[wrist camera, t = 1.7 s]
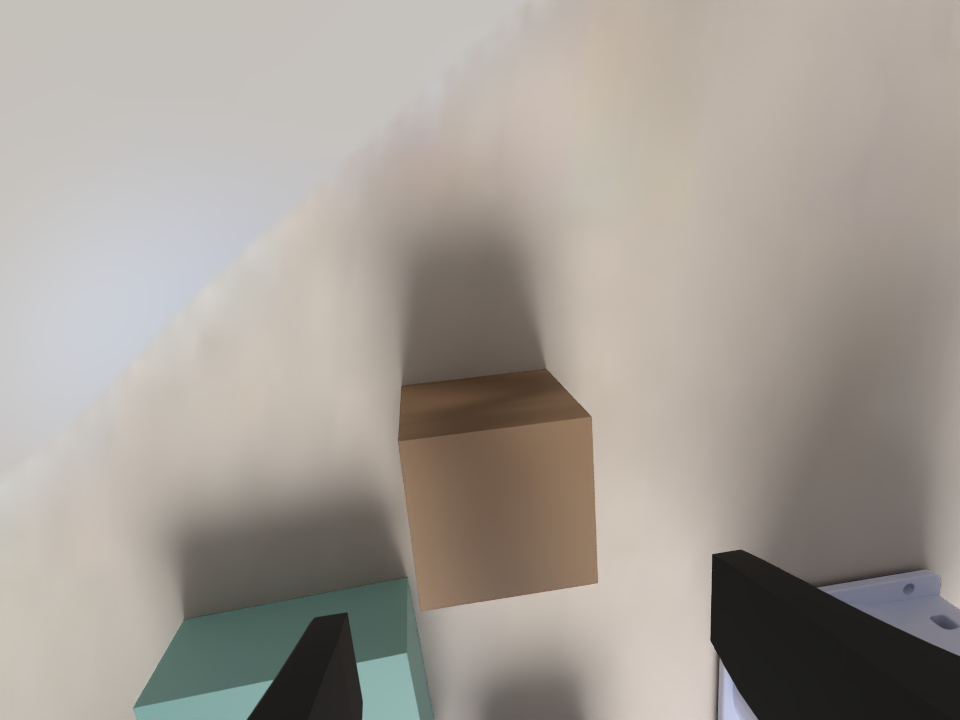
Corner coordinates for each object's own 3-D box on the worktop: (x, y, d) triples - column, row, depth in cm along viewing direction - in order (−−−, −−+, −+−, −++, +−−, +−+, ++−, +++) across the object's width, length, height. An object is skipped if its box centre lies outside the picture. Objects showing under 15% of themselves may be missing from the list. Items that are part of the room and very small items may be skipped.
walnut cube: (545, 368, 19) (591, 416, 14) (553, 497, 20) (597, 583, 15) (401, 385, 18) (398, 441, 14) (418, 516, 20) (420, 611, 15)
